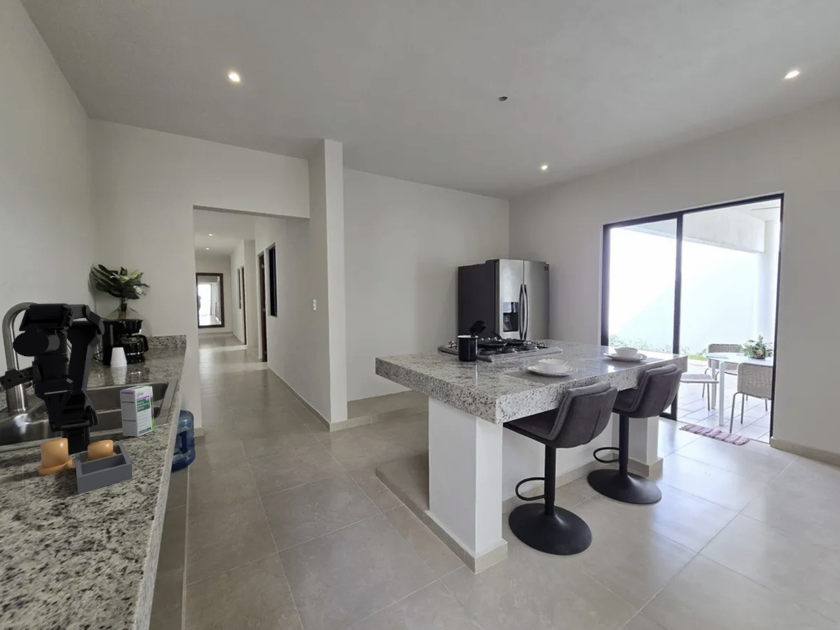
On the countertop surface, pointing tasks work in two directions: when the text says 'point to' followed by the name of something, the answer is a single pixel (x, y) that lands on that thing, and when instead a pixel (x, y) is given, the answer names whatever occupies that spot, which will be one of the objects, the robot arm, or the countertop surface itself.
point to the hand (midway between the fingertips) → (52, 418)
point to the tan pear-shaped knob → (54, 457)
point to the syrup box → (137, 410)
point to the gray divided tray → (102, 466)
